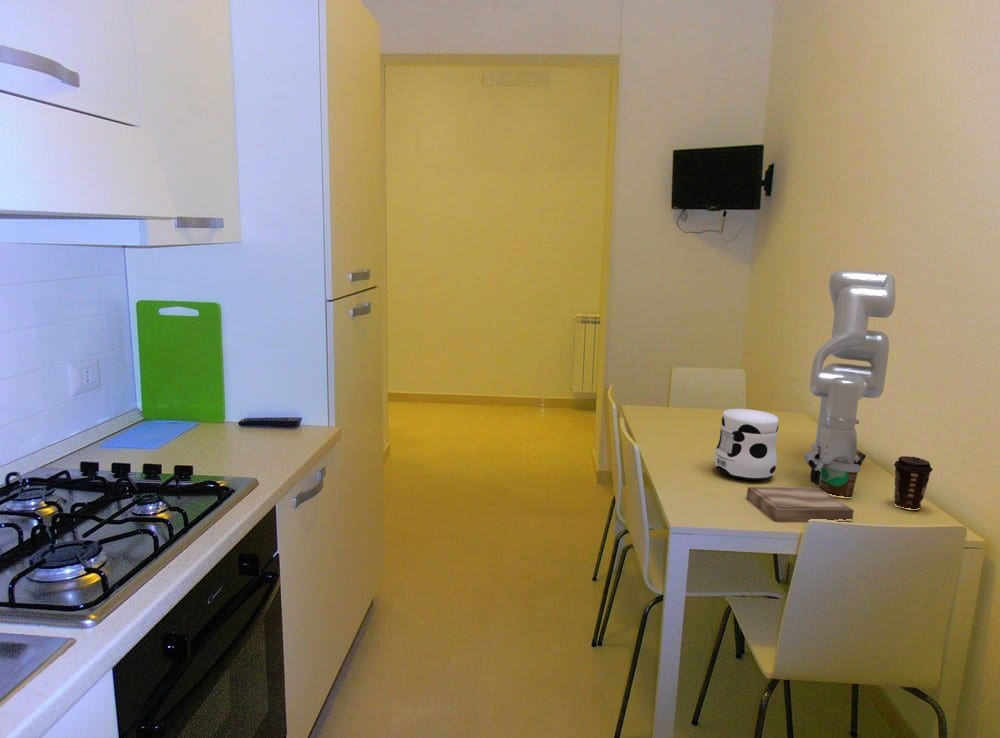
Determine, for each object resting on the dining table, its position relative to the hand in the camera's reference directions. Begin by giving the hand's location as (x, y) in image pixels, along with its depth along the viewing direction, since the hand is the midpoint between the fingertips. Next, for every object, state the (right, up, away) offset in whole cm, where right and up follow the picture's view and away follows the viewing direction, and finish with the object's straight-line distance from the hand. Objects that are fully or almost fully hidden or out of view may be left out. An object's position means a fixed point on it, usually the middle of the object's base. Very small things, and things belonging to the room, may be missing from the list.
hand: (831, 483), depth 200 cm
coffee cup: (+17, -5, -7) cm, 19 cm away
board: (-15, -5, -13) cm, 20 cm away
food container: (0, -3, +1) cm, 3 cm away
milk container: (-20, 0, +13) cm, 24 cm away
